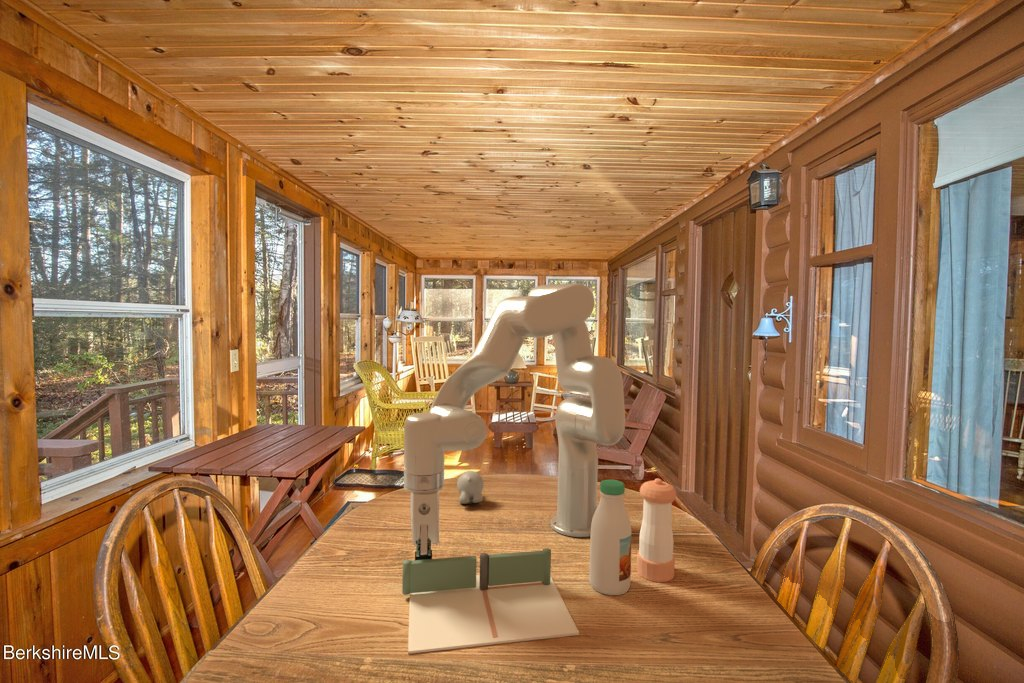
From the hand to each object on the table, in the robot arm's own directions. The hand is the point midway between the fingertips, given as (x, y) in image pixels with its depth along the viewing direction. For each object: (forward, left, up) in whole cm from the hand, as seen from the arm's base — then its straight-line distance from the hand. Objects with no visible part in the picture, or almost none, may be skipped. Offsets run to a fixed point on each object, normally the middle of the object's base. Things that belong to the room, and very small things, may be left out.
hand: (423, 572), depth 94 cm
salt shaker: (-46, +4, -2) cm, 46 cm away
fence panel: (-3, +5, -1) cm, 6 cm away
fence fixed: (-17, +5, -2) cm, 18 cm away
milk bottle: (-35, +7, -2) cm, 36 cm away
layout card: (-11, +10, -2) cm, 15 cm away
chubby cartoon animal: (-13, -39, -2) cm, 41 cm away
